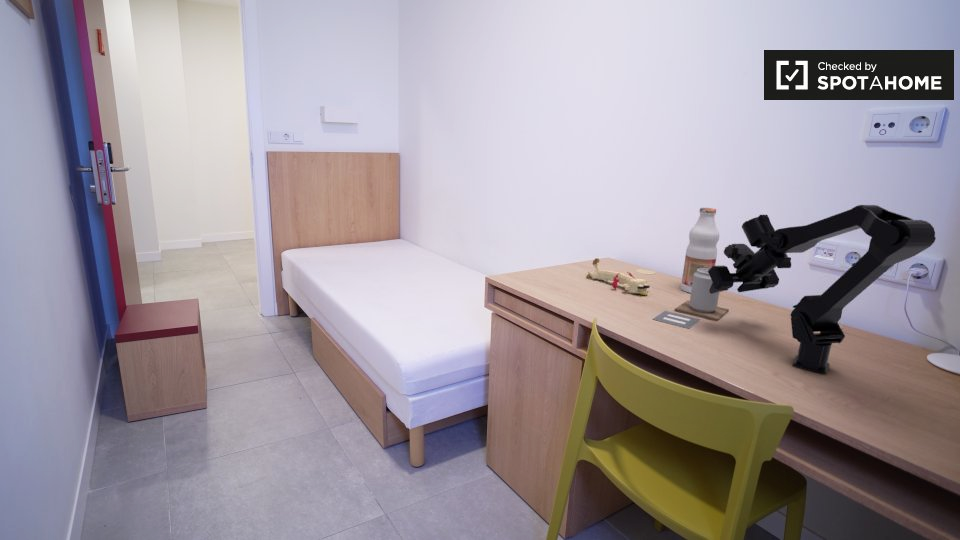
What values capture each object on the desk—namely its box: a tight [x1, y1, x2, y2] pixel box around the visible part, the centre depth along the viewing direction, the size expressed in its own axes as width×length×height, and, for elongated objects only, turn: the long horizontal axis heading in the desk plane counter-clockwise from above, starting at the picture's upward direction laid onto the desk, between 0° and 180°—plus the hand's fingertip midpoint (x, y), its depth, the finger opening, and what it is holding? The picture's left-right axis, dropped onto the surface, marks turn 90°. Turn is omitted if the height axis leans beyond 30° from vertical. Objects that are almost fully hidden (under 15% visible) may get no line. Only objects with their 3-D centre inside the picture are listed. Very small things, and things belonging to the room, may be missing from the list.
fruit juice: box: [680, 207, 720, 294], centre depth 163 cm, size 9×9×28 cm
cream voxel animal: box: [586, 257, 650, 296], centre depth 168 cm, size 10×9×25 cm
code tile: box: [652, 310, 701, 329], centre depth 138 cm, size 10×10×1 cm
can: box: [689, 268, 720, 313], centre depth 144 cm, size 8×8×12 cm
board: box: [673, 299, 729, 322], centre depth 146 cm, size 12×12×1 cm
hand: (724, 291), depth 137 cm, fingers open, 9 cm apart
